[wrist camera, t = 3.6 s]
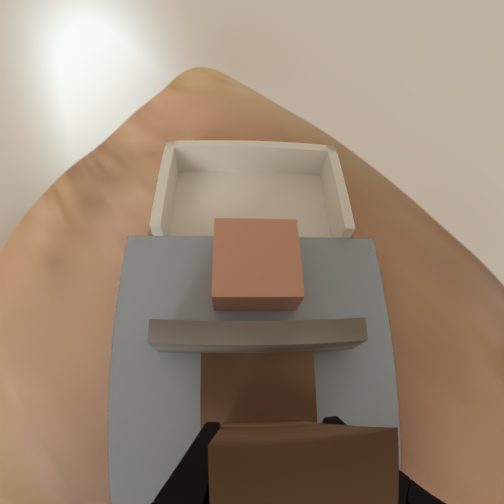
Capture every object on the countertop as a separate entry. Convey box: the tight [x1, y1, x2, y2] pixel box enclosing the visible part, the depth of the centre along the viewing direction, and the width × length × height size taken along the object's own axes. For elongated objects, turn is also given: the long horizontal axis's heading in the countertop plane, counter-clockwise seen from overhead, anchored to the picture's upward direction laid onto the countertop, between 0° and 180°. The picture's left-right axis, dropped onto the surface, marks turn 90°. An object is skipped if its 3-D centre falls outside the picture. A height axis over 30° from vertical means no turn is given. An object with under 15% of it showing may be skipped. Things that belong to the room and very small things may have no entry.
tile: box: [212, 218, 305, 311], centre depth 15 cm, size 4×4×2 cm
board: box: [108, 236, 401, 504], centre depth 14 cm, size 17×14×2 cm
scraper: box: [147, 317, 399, 504], centre depth 9 cm, size 7×9×10 cm
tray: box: [149, 140, 356, 238], centre depth 19 cm, size 6×11×3 cm, turn 91°
